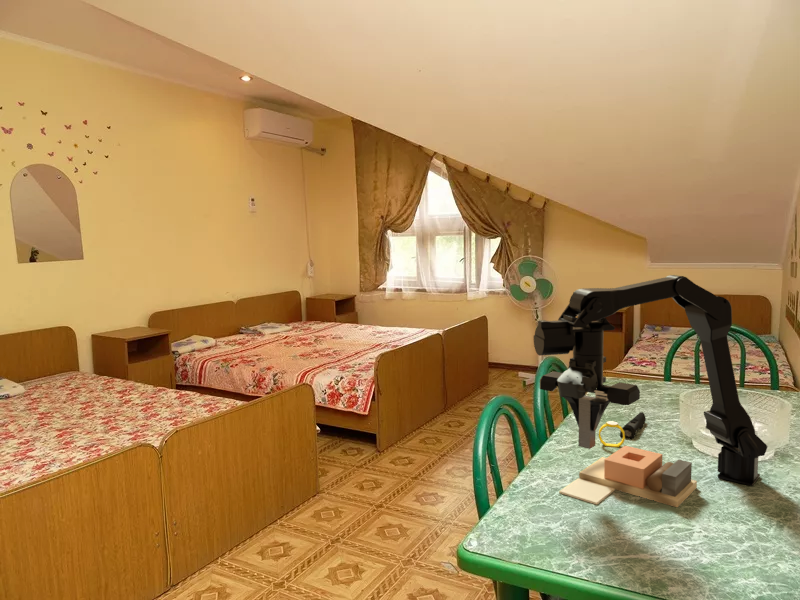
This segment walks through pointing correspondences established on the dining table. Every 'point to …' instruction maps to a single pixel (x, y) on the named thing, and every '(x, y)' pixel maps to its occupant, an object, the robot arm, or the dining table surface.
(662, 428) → the dining table surface
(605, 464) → the orange block with hole
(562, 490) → the beige square tile
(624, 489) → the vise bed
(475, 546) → the dining table surface
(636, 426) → the electric trimmer
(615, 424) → the watch
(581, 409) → the gray rectangular bar
